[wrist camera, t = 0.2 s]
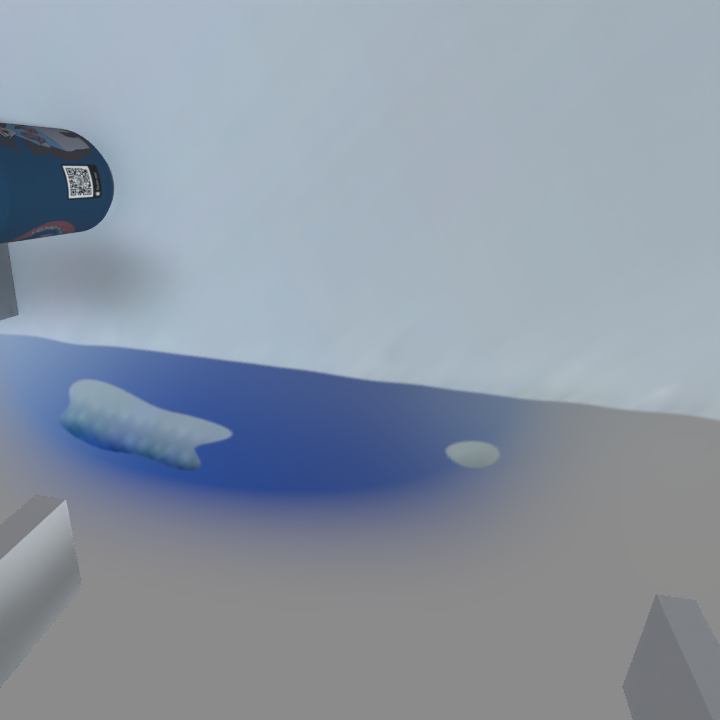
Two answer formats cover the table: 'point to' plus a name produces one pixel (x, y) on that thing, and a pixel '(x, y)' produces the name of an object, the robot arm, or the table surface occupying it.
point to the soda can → (50, 183)
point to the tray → (6, 285)
